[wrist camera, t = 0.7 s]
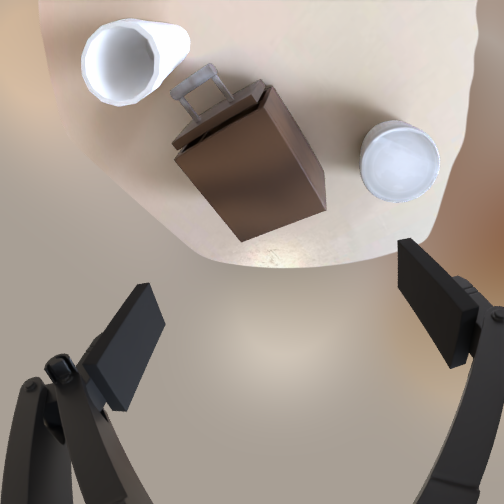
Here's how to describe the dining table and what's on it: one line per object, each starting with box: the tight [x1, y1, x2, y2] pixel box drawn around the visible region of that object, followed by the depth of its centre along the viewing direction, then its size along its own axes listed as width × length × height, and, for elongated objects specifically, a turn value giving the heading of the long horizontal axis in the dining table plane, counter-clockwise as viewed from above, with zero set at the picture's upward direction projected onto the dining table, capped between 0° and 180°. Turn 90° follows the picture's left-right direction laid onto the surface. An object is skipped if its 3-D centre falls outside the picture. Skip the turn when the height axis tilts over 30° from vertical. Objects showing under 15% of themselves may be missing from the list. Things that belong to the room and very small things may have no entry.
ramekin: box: [359, 120, 440, 203], centre depth 38 cm, size 11×11×5 cm
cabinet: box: [174, 86, 326, 242], centre depth 40 cm, size 15×13×10 cm
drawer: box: [170, 63, 266, 150], centre depth 37 cm, size 19×11×8 cm, turn 33°
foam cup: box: [81, 18, 190, 107], centre depth 29 cm, size 10×9×13 cm
